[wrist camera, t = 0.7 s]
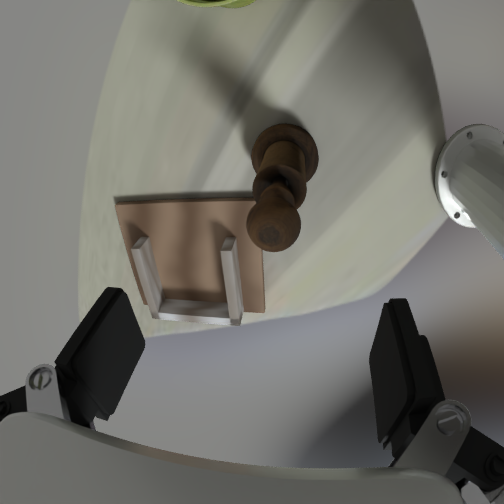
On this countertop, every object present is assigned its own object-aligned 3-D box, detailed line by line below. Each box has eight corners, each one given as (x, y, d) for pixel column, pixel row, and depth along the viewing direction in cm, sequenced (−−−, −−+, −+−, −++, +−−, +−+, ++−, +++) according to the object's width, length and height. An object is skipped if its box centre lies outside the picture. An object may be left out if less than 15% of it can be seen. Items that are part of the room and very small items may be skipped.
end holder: (259, 197, 34) (254, 212, 31) (265, 308, 43) (261, 328, 39) (118, 202, 37) (102, 215, 34) (146, 300, 45) (136, 317, 42)
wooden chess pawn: (257, 184, 34) (219, 286, 18) (250, 126, 30) (198, 182, 15) (319, 181, 32) (334, 285, 17) (315, 121, 29) (335, 173, 14)
